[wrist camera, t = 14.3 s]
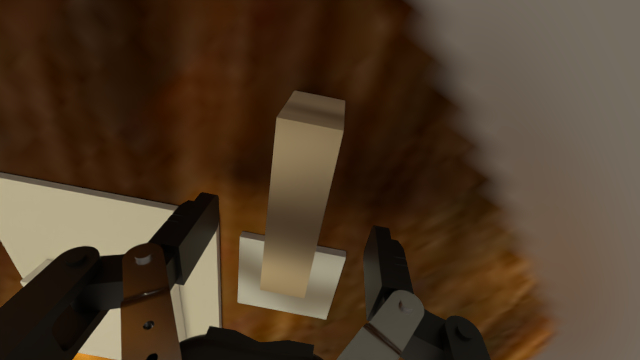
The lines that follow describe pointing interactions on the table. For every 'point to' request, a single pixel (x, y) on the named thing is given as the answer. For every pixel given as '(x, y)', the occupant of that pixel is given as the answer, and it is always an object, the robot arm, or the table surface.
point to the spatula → (296, 214)
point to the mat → (99, 235)
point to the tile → (115, 324)
